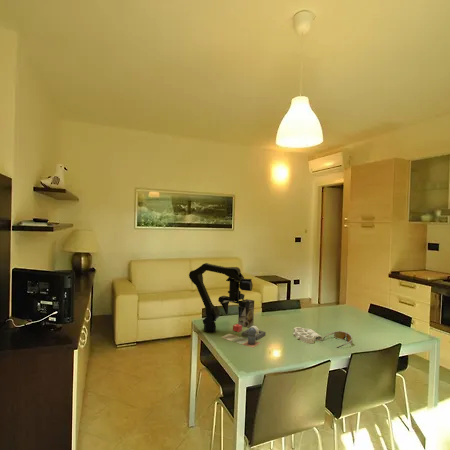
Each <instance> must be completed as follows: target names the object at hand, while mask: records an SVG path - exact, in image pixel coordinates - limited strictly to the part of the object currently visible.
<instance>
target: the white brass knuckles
mask: <svg viewBox="0 0 450 450" xmlns="http://www.w3.org/2000/svg"><path fill="white" fill-rule="evenodd" d="M292 335H293V336H295V337H294V338H297V340H300V341H302V342H303V343H305V344H314V343H315V341H318V342H320V341H322V340H323V336H322V335H320V334H319V333H317V332H316V331H315V330H313V329H311V328H303V327H299V326H298V327H297V326H296V327H294V328H293V333H292ZM316 338H317V339H316Z"/></svg>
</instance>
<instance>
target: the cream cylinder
mask: <svg viewBox="0 0 450 450" xmlns="http://www.w3.org/2000/svg"><path fill="white" fill-rule="evenodd" d="M251 327H253V328H255V329H256V335H257V334H259V330H260V329H259V328H258V326H256V325H253V326H250V327H249V328H251Z"/></svg>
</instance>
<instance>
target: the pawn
mask: <svg viewBox="0 0 450 450" xmlns="http://www.w3.org/2000/svg"><path fill="white" fill-rule="evenodd" d="M250 327H251V326H250ZM250 327H248V329H247V330H248V338H247V339H248V344H250V345H254V344H255V341H256V340H255V338H256V329H255V328H253V327H251V328H250Z"/></svg>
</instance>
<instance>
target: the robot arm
mask: <svg viewBox="0 0 450 450" xmlns="http://www.w3.org/2000/svg"><path fill="white" fill-rule="evenodd" d="M206 271H207V272H208V271H209V272H213V273H217V274H223V275H225V276H226V277H228V278H227V279H226V282H229V285H228V286H229V287H228V289H229V290H228V291H227V293H228V296H227V295H221V296H219V297H218V300H217V301H218V302H219V303H220V304H221V306H222V308H223V311H224V312H225V316H227V315H228V314H229V304H230V303H233V304H237V305H238V318H241V315H242V313H243V311H244V309H245V308H246V307H248V306H250V302H249V301H248V300H249V299H248V300H246V299H245V294H243V293H241V292H242V291H247V292H252V290H253V286H254V284H253V280H252V278H245V277H244V275H243V274H242V270H241V269H240V268H239V267H237V266H223V265H222V266H221V265H216V264H212V263H208V262H206V263H203V264H202V265H200V266H198V267H197V268H196V269H194V270H191V271H190V272H189V274H188V278H189V280H190V281H191V282H192V284H194V285H195V287H196V289H197V291H198V294H199V295H200V298H201V300H202V304H203V305H204V308H205V316H206V317H205V318H204V319H202V323H203V331H204V332H206V333H208V334H209V333H211V334H214V333H216V332H217V326H216V321H217V319H219V317H220V315H221V314H220V310H219V308H218V305H214V304H213V302H212V299H211V298H210V294H209V293H208V290H207V288H206V285H205V283H204V275H203V274H205V272H206Z"/></svg>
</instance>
